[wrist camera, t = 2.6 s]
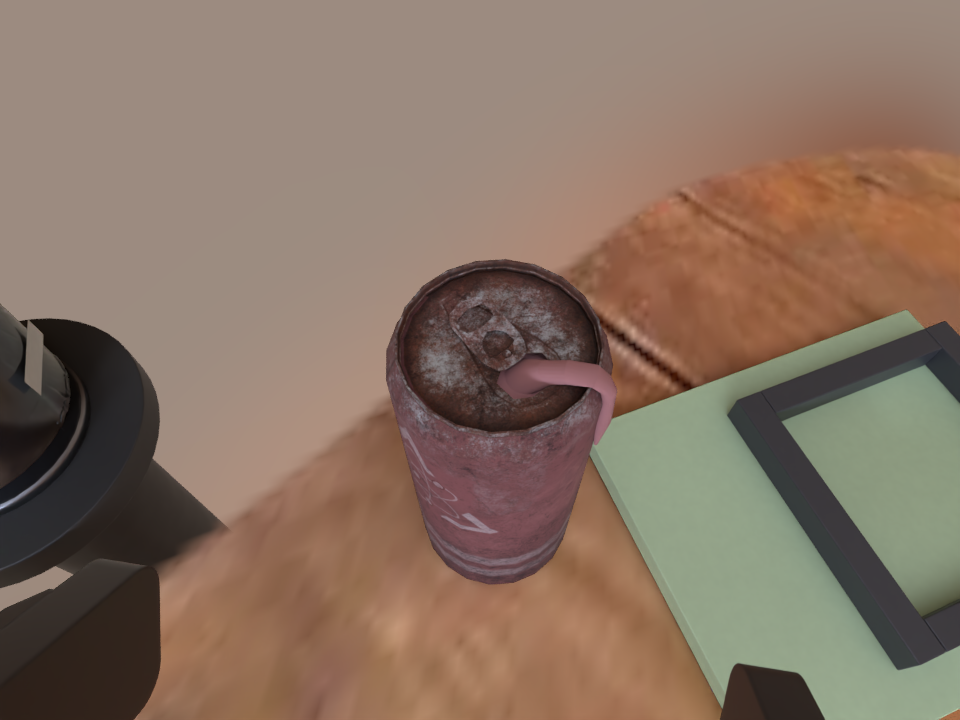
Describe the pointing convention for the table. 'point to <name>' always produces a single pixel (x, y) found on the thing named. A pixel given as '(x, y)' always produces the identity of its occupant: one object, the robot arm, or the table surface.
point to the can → (499, 411)
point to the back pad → (811, 517)
